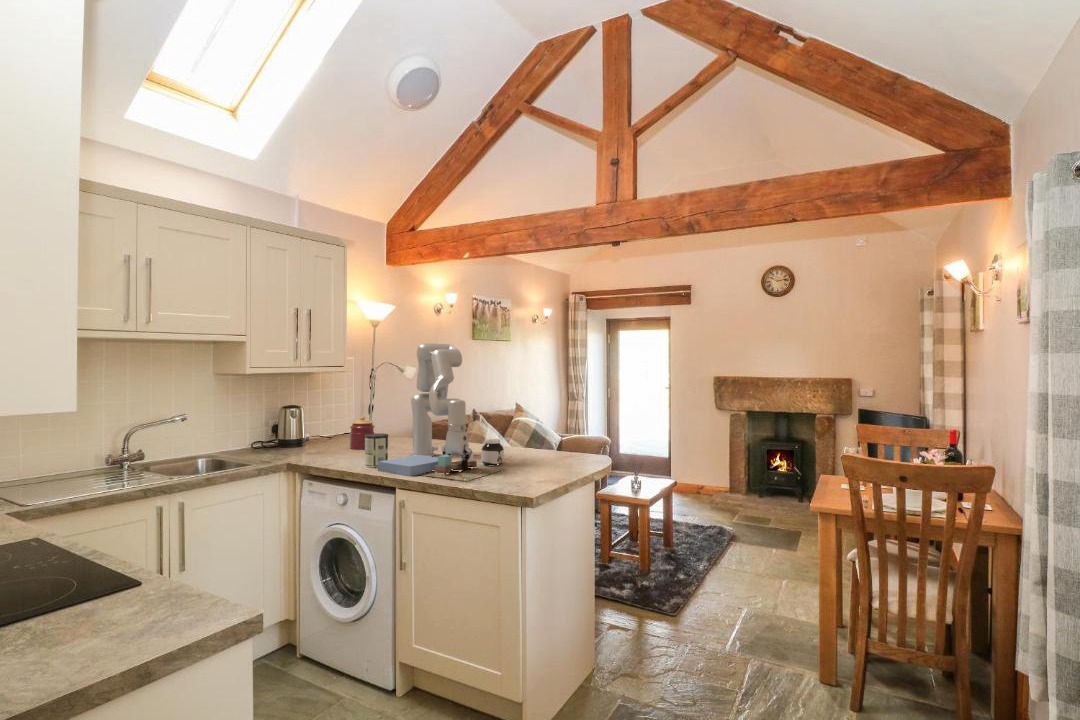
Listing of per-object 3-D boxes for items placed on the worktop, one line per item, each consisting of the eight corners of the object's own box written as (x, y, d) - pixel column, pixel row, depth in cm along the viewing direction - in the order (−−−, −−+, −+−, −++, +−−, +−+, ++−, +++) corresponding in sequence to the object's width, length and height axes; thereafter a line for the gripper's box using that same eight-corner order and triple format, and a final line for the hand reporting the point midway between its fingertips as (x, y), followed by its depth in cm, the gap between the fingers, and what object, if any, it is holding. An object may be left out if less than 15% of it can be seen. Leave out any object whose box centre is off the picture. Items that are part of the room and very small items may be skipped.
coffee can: (375, 463, 262) (375, 432, 263) (392, 464, 258) (393, 434, 258) (359, 466, 253) (359, 435, 253) (377, 468, 249) (377, 436, 249)
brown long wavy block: (466, 467, 254) (466, 459, 254) (476, 468, 250) (476, 460, 250) (434, 473, 237) (434, 465, 237) (444, 475, 234) (445, 467, 234)
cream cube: (466, 460, 252) (466, 451, 253) (473, 460, 250) (473, 451, 250) (460, 461, 249) (460, 452, 249) (467, 462, 247) (467, 452, 247)
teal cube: (444, 464, 241) (444, 454, 241) (451, 465, 239) (451, 455, 239) (438, 465, 238) (438, 456, 238) (445, 466, 235) (445, 456, 235)
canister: (345, 449, 306) (345, 416, 306) (356, 446, 318) (357, 414, 319) (367, 450, 303) (368, 417, 304) (378, 446, 316) (378, 415, 316)
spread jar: (488, 467, 254) (488, 441, 254) (474, 463, 263) (474, 438, 263) (509, 464, 262) (509, 439, 262) (494, 461, 270) (495, 437, 271)
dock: (419, 463, 262) (419, 454, 263) (450, 467, 251) (450, 459, 251) (378, 470, 243) (378, 461, 243) (410, 476, 231) (410, 466, 231)
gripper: (477, 429, 242) (477, 468, 242) (448, 426, 252) (447, 464, 252) (465, 430, 236) (465, 471, 236) (436, 427, 246) (435, 467, 246)
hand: (456, 468), depth 244 cm, fingers open, 9 cm apart
